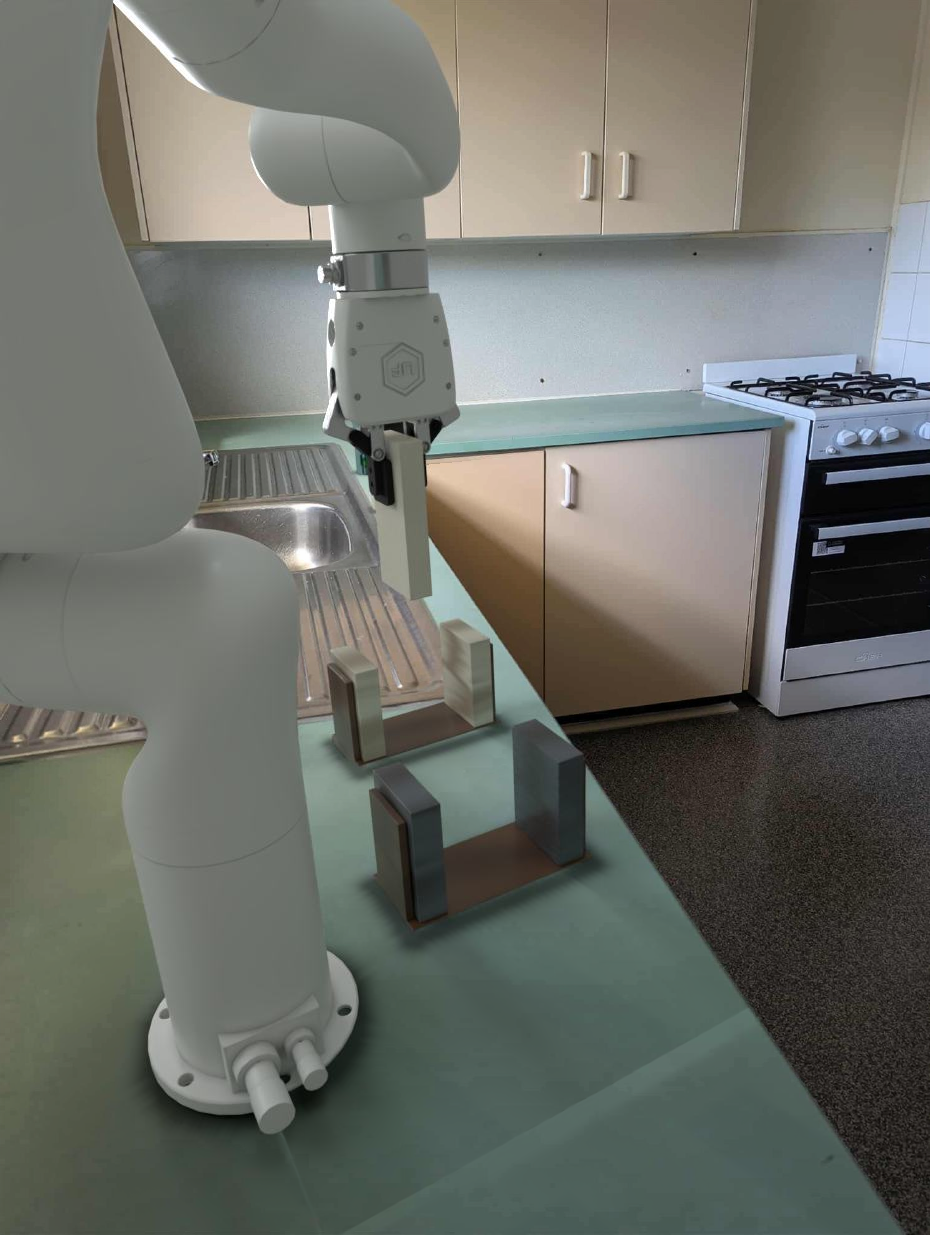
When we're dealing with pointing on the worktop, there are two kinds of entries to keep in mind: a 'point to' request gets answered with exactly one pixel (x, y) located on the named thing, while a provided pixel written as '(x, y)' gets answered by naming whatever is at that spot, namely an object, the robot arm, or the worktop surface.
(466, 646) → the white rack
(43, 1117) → the worktop surface
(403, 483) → the white book
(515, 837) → the grey rack
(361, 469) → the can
